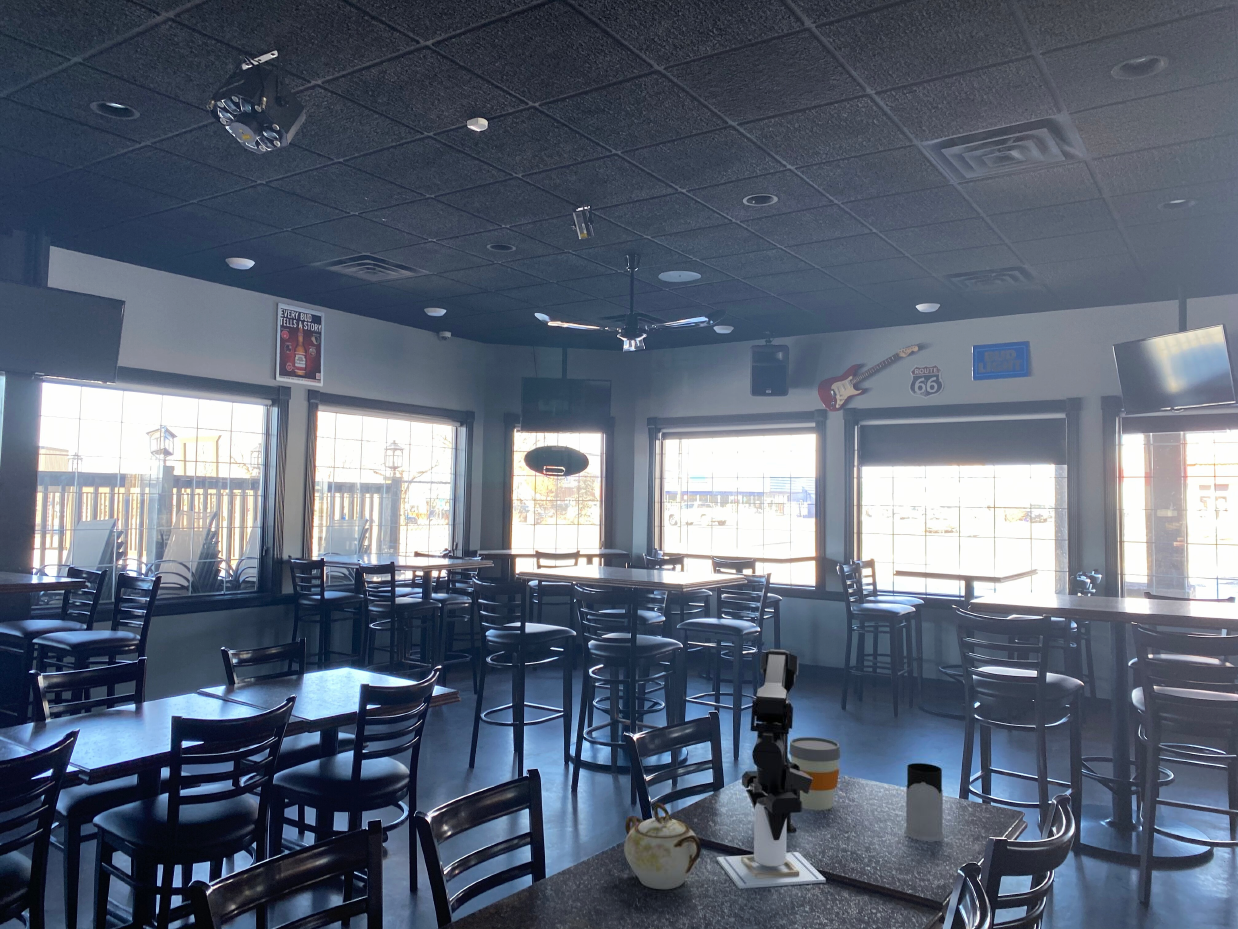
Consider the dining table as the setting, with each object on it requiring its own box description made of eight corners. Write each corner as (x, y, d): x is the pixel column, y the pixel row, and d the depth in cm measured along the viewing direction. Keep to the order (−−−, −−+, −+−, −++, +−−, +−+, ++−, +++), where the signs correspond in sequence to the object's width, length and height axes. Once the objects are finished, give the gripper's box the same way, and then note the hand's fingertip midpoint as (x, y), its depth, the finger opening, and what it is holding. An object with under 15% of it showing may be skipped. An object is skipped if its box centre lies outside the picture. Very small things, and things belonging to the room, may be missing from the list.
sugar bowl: (599, 876, 179) (600, 799, 179) (650, 856, 189) (651, 784, 190) (673, 909, 165) (674, 826, 166) (724, 885, 175) (725, 807, 176)
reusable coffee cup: (834, 816, 216) (834, 752, 216) (782, 807, 221) (783, 746, 222) (844, 800, 227) (845, 740, 228) (795, 793, 233) (796, 734, 233)
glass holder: (902, 838, 202) (902, 770, 203) (907, 818, 215) (907, 754, 216) (943, 844, 199) (944, 775, 200) (946, 823, 212) (946, 759, 213)
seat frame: (741, 860, 186) (741, 856, 186) (782, 858, 188) (782, 854, 188) (756, 878, 177) (756, 874, 177) (799, 875, 179) (799, 871, 179)
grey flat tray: (716, 860, 188) (716, 856, 188) (797, 855, 191) (797, 851, 191) (738, 888, 174) (739, 885, 174) (825, 882, 178) (825, 878, 178)
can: (785, 869, 179) (786, 808, 180) (753, 866, 180) (753, 805, 181) (786, 856, 185) (786, 797, 186) (754, 853, 187) (755, 795, 187)
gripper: (827, 768, 176) (826, 849, 176) (790, 742, 194) (789, 815, 194) (773, 770, 174) (772, 852, 173) (741, 744, 192) (740, 818, 192)
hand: (770, 833), depth 183 cm, fingers closed on can, 6 cm apart
